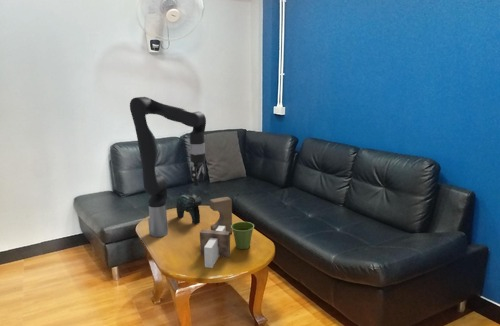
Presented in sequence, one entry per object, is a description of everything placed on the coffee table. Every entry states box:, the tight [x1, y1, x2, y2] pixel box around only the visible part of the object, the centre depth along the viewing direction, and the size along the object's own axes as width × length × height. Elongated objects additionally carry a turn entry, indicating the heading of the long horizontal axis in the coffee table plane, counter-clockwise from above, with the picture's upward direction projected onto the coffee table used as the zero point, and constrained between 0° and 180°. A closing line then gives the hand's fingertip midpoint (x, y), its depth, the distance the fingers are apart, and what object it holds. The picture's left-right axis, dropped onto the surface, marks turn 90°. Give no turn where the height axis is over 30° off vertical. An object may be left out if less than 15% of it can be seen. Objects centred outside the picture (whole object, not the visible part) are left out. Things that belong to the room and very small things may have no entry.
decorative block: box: [209, 196, 233, 234], centre depth 190 cm, size 11×6×20 cm, turn 116°
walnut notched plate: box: [199, 229, 231, 259], centre depth 168 cm, size 14×4×12 cm, turn 79°
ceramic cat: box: [175, 189, 202, 225], centre depth 208 cm, size 20×6×20 cm, turn 49°
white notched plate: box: [203, 226, 226, 269], centre depth 168 cm, size 4×24×10 cm, turn 169°
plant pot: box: [231, 221, 255, 250], centre depth 176 cm, size 12×12×11 cm
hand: (198, 183), depth 176 cm, fingers open, 8 cm apart
